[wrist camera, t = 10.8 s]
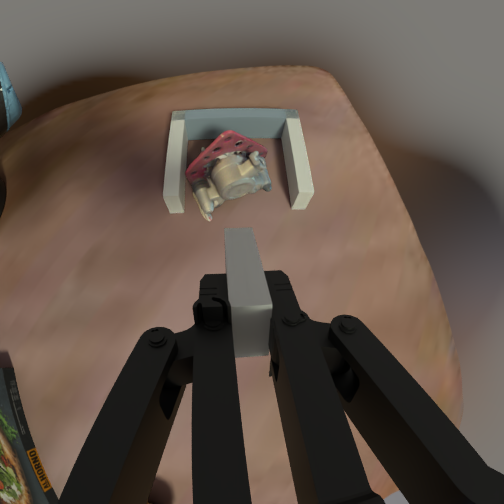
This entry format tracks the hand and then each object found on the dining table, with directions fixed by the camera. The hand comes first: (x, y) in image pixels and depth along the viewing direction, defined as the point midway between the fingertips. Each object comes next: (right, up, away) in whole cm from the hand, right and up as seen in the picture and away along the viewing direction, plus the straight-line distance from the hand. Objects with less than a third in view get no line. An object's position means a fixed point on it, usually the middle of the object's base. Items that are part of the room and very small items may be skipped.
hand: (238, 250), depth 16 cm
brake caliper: (-3, +10, +25) cm, 27 cm away
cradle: (-2, +12, +25) cm, 28 cm away
